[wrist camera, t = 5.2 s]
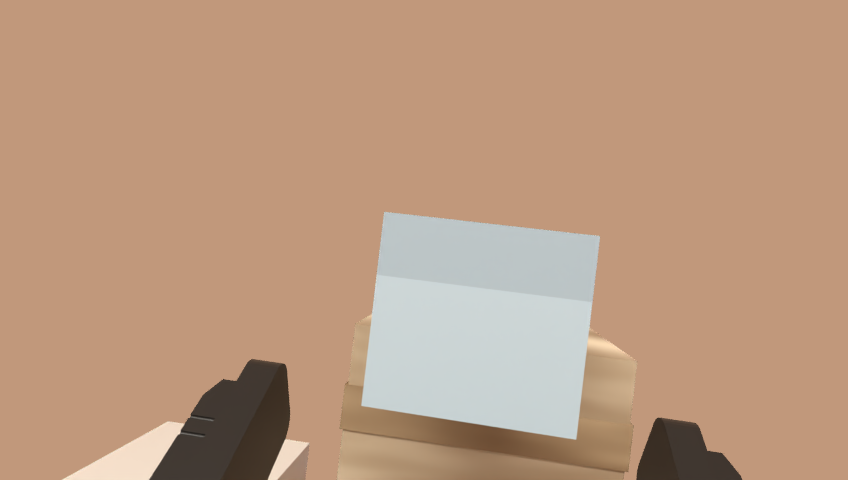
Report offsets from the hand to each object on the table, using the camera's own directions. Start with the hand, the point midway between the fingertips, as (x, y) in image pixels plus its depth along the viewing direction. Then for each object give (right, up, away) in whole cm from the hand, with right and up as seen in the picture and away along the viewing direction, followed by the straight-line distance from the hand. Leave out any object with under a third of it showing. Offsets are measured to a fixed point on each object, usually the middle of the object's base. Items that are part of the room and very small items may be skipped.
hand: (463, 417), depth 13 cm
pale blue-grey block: (+1, 0, +10) cm, 10 cm away
